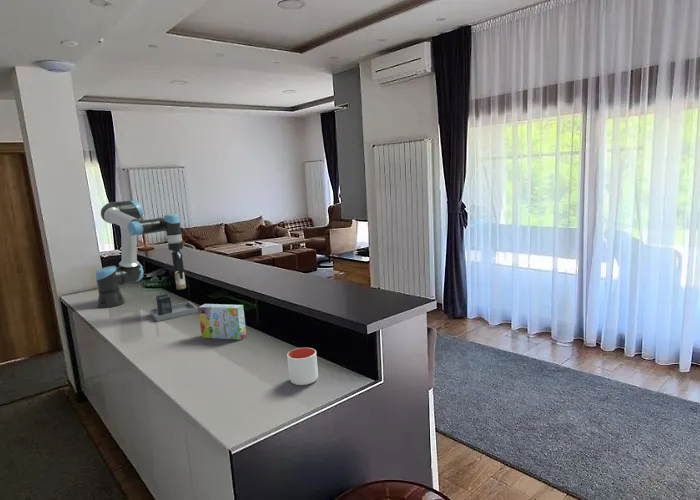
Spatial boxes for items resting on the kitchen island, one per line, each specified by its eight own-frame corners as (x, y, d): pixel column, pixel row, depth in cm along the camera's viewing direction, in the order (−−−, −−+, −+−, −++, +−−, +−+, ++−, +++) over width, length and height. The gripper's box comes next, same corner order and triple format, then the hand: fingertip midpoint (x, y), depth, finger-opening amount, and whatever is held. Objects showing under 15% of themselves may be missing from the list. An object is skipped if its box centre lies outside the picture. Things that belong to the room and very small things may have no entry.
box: (172, 314, 245) (170, 296, 243) (162, 317, 242) (159, 298, 240) (168, 312, 251) (166, 293, 249) (158, 314, 248) (155, 296, 246)
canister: (175, 288, 250) (173, 272, 249) (184, 286, 253) (182, 271, 252) (177, 289, 246) (175, 273, 245) (187, 288, 249) (185, 272, 247)
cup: (290, 375, 161) (287, 349, 159) (318, 372, 161) (315, 346, 160) (289, 388, 151) (286, 360, 149) (318, 385, 152) (316, 357, 150)
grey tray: (150, 314, 250) (149, 309, 250) (189, 306, 262) (189, 301, 262) (157, 322, 236) (156, 316, 235) (198, 312, 248) (197, 307, 247)
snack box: (247, 336, 205) (243, 304, 202) (240, 340, 199) (236, 308, 197) (208, 333, 212) (204, 303, 209) (201, 338, 206) (196, 306, 204)
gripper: (164, 241, 251) (169, 282, 254) (171, 244, 236) (177, 287, 240) (177, 240, 255) (183, 279, 259) (186, 242, 240) (192, 284, 244)
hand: (180, 283), depth 249 cm, fingers closed on canister, 5 cm apart
